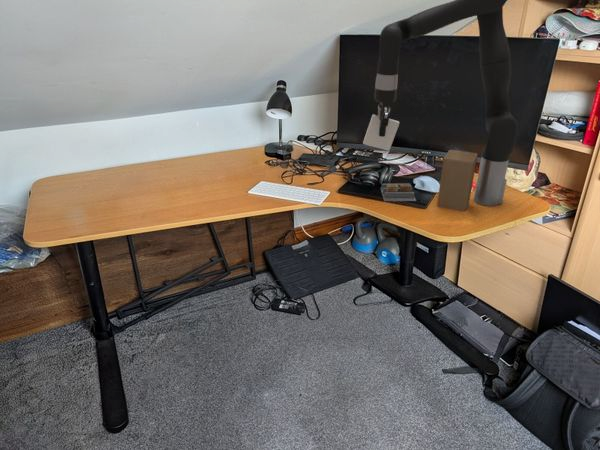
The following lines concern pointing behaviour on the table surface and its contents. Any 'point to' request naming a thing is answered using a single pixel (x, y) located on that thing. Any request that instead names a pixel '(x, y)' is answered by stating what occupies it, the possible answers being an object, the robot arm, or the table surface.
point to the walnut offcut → (405, 188)
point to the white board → (373, 133)
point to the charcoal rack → (397, 194)
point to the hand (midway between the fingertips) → (381, 135)
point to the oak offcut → (392, 188)
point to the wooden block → (457, 180)
